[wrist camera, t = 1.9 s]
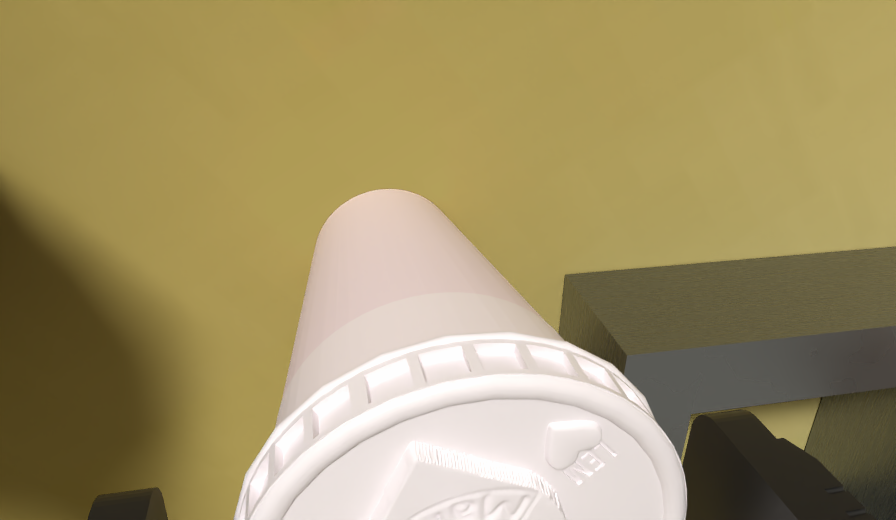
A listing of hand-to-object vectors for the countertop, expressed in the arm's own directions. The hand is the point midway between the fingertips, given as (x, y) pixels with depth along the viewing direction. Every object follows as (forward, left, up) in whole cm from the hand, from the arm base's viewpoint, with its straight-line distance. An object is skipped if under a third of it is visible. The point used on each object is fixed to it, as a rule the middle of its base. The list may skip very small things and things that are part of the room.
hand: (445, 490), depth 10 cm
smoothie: (0, 0, -9) cm, 9 cm away
